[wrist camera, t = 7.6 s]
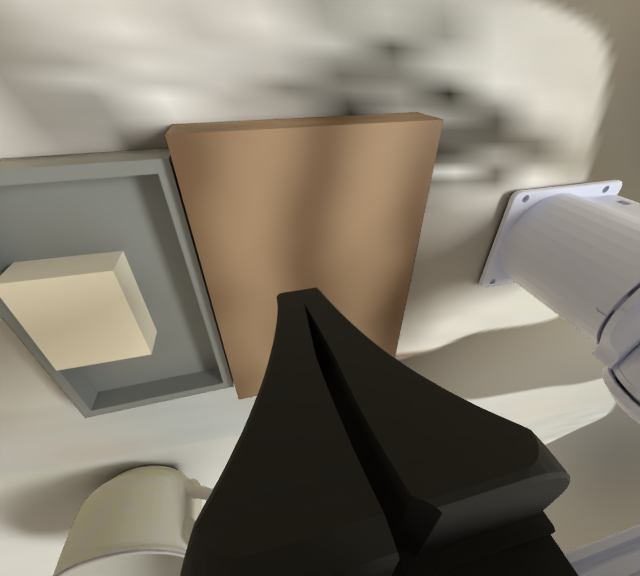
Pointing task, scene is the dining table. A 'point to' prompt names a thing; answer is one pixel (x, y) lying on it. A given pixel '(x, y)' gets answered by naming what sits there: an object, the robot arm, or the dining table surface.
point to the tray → (143, 258)
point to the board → (305, 220)
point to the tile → (80, 308)
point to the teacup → (134, 525)
